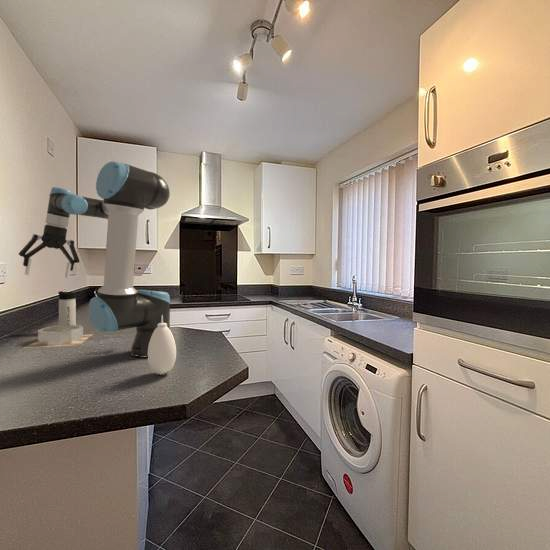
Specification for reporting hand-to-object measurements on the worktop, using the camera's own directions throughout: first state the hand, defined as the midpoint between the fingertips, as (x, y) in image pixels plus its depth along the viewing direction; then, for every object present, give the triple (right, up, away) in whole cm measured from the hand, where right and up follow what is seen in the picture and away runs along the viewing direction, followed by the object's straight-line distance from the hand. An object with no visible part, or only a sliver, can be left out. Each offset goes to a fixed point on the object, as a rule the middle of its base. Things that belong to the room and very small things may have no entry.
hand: (47, 276), depth 122 cm
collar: (+7, -26, -2) cm, 27 cm away
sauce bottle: (+61, -29, -34) cm, 76 cm away
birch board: (+7, -27, -2) cm, 28 cm away
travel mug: (0, -27, +11) cm, 29 cm away
